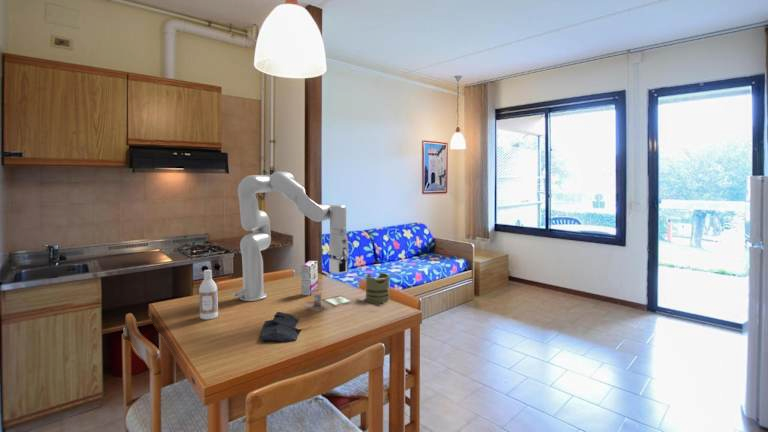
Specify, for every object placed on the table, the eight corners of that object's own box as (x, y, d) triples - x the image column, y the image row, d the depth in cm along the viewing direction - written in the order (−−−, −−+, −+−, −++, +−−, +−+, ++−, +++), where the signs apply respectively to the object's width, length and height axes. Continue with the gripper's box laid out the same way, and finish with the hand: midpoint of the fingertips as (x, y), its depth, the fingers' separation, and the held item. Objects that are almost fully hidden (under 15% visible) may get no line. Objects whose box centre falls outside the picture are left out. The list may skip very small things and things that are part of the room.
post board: (315, 315, 167) (315, 300, 166) (300, 307, 177) (299, 293, 177) (357, 305, 181) (357, 291, 180) (340, 298, 192) (340, 285, 191)
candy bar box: (309, 291, 202) (309, 260, 201) (318, 292, 201) (318, 260, 200) (301, 297, 191) (300, 265, 190) (310, 298, 190) (310, 265, 189)
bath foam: (198, 320, 159) (196, 272, 157) (202, 314, 166) (200, 268, 164) (216, 319, 161) (215, 271, 159) (219, 313, 168) (218, 268, 166)
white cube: (347, 272, 181) (347, 258, 180) (336, 273, 177) (336, 260, 176) (340, 269, 185) (340, 256, 185) (329, 271, 181) (329, 258, 181)
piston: (363, 273, 193) (385, 272, 196) (363, 297, 194) (384, 295, 197) (369, 279, 182) (392, 277, 185) (369, 304, 183) (392, 302, 186)
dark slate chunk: (253, 344, 138) (253, 331, 137) (266, 322, 160) (266, 310, 159) (297, 343, 139) (297, 330, 139) (304, 321, 161) (304, 310, 161)
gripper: (355, 233, 175) (355, 272, 177) (334, 229, 188) (334, 266, 190) (341, 234, 170) (342, 274, 172) (321, 230, 183) (321, 268, 185)
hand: (338, 269), depth 181 cm, fingers closed on white cube, 6 cm apart
